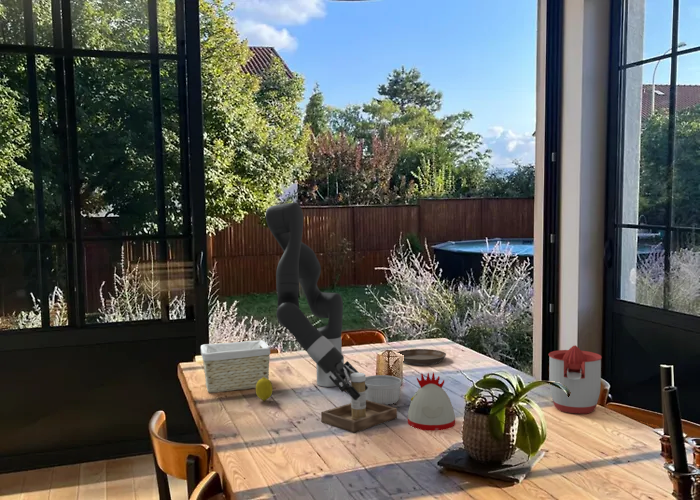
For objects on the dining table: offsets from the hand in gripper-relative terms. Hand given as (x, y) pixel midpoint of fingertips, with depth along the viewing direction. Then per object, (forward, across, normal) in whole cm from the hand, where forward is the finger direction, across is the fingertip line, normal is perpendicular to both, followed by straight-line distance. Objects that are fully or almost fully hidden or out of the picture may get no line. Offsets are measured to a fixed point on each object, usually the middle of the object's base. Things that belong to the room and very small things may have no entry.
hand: (362, 394), depth 195 cm
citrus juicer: (+49, +25, -38) cm, 67 cm away
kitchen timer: (+20, +3, -8) cm, 22 cm away
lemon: (-20, +12, +32) cm, 40 cm away
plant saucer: (+8, +79, +3) cm, 80 cm away
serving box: (+5, 0, +6) cm, 8 cm away
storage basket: (-33, +27, +45) cm, 62 cm away
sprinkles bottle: (+4, 0, +6) cm, 8 cm away
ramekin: (+6, +21, +5) cm, 22 cm away
